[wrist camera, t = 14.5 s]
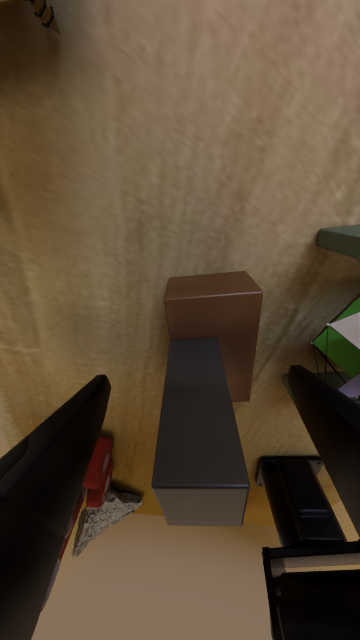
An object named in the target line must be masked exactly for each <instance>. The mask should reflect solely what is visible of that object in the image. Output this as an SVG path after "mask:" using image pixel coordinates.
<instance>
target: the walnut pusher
mask: <svg viewBox="0 0 360 640" xmlns="http://www.w3.org/2000/svg"><path fill="white" fill-rule="evenodd" d="M262 297H263V291H262V290H261V288H260V287H259V286H258V285H257V284H256V283H255V281H254V280H253V279H252V278H251V277H250V276H249V274H248V273H247V272H246V271H241V272H229V273H218V274H207V275H196V276H184V277H173V278H169V281H168V285H167V289H166V294H165V298H164V304H165V311H166V317H167V323H168V329H169V336H170V345H169V352H168V360H167V368H166V376H165V383H164V391H163V399H162V407H161V415H160V422H159V430H158V438H157V446H156V453H155V461H154V469H153V477H152V489H153V491H154V494H155V496H156V498H157V501H158V503H159V505H160V508H161V510H162V512H163V515H164V517H165V519H166V522H167V524H168V525H182V526H242V524H243V519H244V514H245V509H246V504H247V499H248V494H249V489H250V482H249V478H248V473H247V469H246V464H245V460H244V455H243V451H242V446H241V442H240V437H239V433H238V428H237V424H236V419H235V415H234V410H233V406H232V402H245V401H249V400H250V392H251V384H252V376H253V368H254V360H255V353H256V345H257V337H258V329H259V321H260V313H261V305H262Z"/></svg>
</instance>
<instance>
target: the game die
mask: <svg viewBox="0 0 360 640" xmlns="http://www.w3.org/2000/svg"><path fill="white" fill-rule="evenodd" d="M23 1H27V0H0V7H3V6H7V5H11V4H15V3H19V2H23ZM29 2H30V3H31V5H32V7H33V9H34V11H35V13H34V14H35V15H36V16H37V17H39V18H40V20H41V21H42V25H43V26H44V27H47V28H50V29H52V30H54V31H56V32H57V33H59V34H60V32H59V29H58V26H57V23H56V20H55V18H54V12H53V8H52V6H49V5H48V4H47V2H46V0H29Z"/></svg>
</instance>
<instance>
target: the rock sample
mask: <svg viewBox="0 0 360 640" xmlns="http://www.w3.org/2000/svg"><path fill="white" fill-rule="evenodd" d="M142 503H143V500H142V499H141V498H139V497H138V496H137V495H133V494H130V493H128V492H126V493H119V492H116V491H114V490H113V488H112V487H109V490H108V493H107V496H106V499H105V501H104V504H103V505H102V506H101V507H100V508H92V507H88V506H86V507H85V509H83V510H82V512H81V514H80V517H79V522H78V530H77V533H76V537H75V543H74V548H73V558H75V557H77V556H78V555H79V554H80V553H81V551H83V549H85V547H86V546H87V544H88V543H89V542H90V541H92V540H93V539H94V538H95V537H96V536H98V535H99V534H101V533H102V532H103V531H104V530H105V529H106V528H108V527H109V526H112V525H114V524H117V523H118V522H119V521H120V520H122V519H123V518H124V517H126V516H128V515H130V514H131V513H133V512H134V511H135V509H137V508H138V507H139V506H141V505H142Z"/></svg>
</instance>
